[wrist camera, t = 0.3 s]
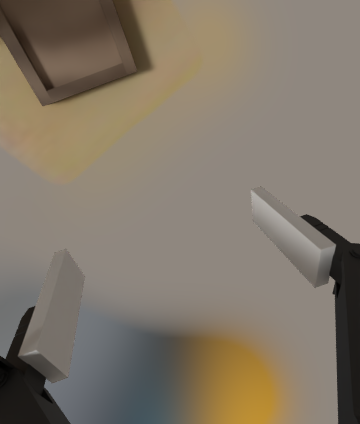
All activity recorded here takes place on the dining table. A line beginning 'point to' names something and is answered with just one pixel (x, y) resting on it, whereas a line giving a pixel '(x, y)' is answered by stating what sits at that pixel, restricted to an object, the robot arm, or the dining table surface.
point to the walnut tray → (65, 44)
